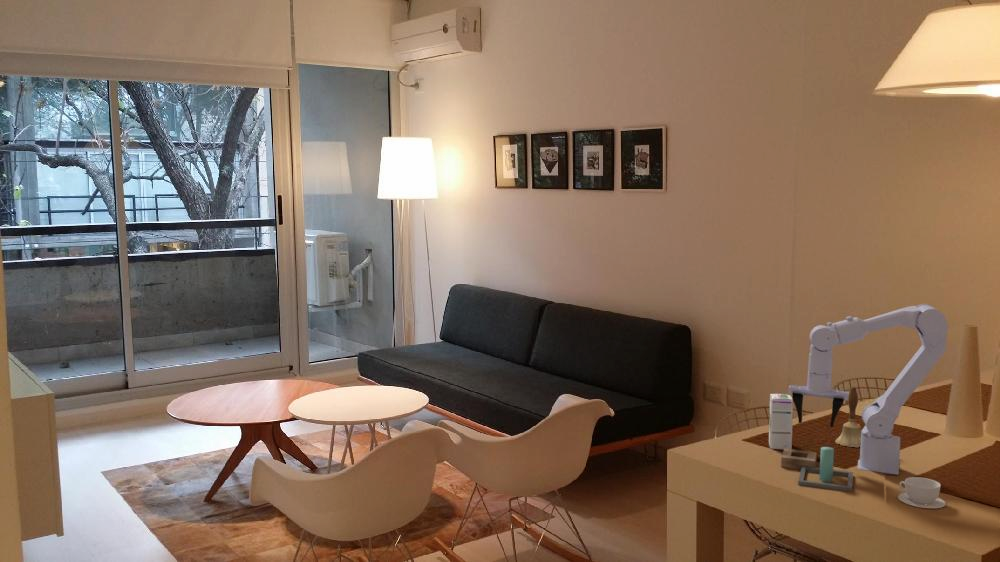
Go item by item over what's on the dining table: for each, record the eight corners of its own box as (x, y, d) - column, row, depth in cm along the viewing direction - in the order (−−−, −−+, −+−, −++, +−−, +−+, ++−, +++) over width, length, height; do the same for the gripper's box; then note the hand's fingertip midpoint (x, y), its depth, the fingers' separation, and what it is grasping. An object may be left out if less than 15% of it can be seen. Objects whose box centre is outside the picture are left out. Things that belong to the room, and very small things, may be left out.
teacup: (951, 501, 204) (952, 482, 203) (937, 513, 197) (938, 493, 196) (906, 491, 211) (907, 472, 210) (891, 502, 204) (892, 482, 203)
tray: (852, 477, 219) (853, 472, 219) (851, 493, 208) (852, 488, 208) (801, 471, 224) (801, 465, 224) (798, 486, 213) (798, 481, 213)
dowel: (828, 478, 218) (830, 446, 217) (834, 482, 215) (836, 450, 214) (817, 478, 217) (818, 446, 216) (822, 482, 214) (824, 450, 213)
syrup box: (792, 451, 240) (794, 399, 238) (769, 450, 241) (771, 398, 239) (789, 445, 245) (792, 394, 243) (767, 444, 246) (769, 392, 245)
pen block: (816, 463, 230) (816, 452, 230) (814, 472, 223) (814, 461, 222) (783, 459, 233) (784, 448, 233) (781, 468, 226) (781, 457, 225)
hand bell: (829, 443, 247) (832, 387, 246) (844, 437, 253) (847, 382, 251) (858, 450, 241) (861, 392, 239) (872, 444, 247) (875, 388, 245)
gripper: (850, 372, 228) (846, 423, 230) (791, 366, 234) (787, 416, 235) (849, 378, 222) (845, 431, 223) (789, 371, 227) (785, 423, 229)
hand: (815, 424), depth 229 cm, fingers open, 7 cm apart
